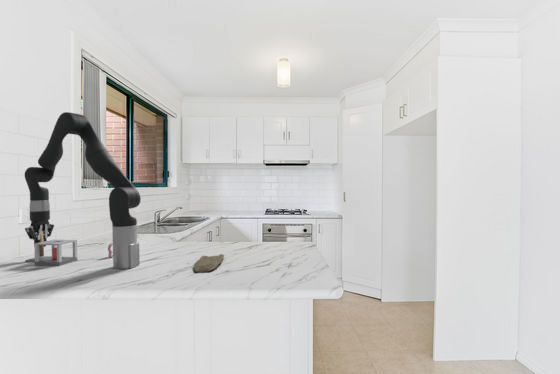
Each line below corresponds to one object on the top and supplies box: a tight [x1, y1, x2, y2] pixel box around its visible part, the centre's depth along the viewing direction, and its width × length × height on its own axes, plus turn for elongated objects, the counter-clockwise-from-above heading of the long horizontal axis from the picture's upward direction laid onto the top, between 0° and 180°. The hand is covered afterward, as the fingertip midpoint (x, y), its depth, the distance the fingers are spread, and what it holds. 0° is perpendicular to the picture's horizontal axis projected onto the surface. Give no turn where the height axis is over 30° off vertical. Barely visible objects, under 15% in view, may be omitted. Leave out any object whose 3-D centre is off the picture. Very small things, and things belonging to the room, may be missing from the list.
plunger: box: [51, 246, 57, 260], centre depth 143 cm, size 3×3×6 cm
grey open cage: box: [33, 239, 78, 267], centre depth 143 cm, size 12×10×9 cm
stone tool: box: [192, 253, 225, 273], centre depth 135 cm, size 11×3×25 cm
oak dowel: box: [36, 231, 45, 256], centre depth 149 cm, size 2×2×12 cm
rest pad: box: [24, 255, 52, 263], centre depth 149 cm, size 8×8×1 cm
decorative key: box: [107, 242, 113, 259], centre depth 160 cm, size 7×1×20 cm
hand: (40, 247), depth 149 cm, fingers closed on oak dowel, 2 cm apart
